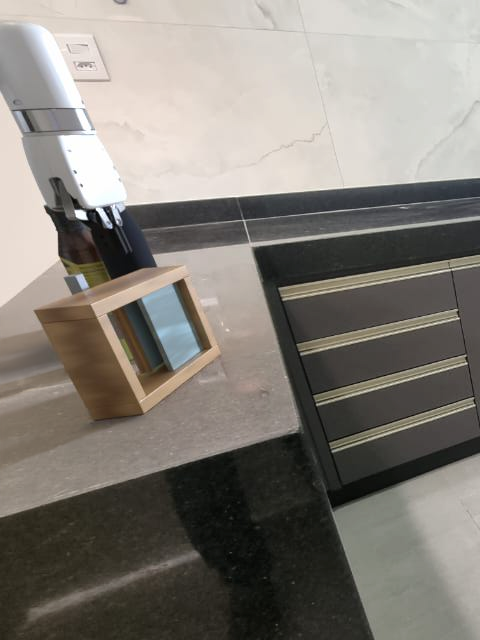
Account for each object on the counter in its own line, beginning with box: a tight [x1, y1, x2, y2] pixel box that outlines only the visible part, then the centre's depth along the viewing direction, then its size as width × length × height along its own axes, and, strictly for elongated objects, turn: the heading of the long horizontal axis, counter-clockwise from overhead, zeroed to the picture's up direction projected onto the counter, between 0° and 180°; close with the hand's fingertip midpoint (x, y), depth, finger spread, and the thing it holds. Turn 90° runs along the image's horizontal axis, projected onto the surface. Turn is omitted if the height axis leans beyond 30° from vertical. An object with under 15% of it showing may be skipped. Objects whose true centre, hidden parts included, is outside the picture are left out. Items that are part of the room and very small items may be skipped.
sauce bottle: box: [43, 203, 111, 288], centre depth 90 cm, size 7×6×20 cm
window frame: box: [33, 264, 222, 421], centre depth 65 cm, size 5×18×13 cm, turn 13°
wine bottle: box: [90, 208, 158, 280], centre depth 88 cm, size 6×6×30 cm
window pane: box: [63, 274, 164, 374], centre depth 66 cm, size 4×8×13 cm, turn 13°
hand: (118, 253), depth 82 cm, fingers closed
